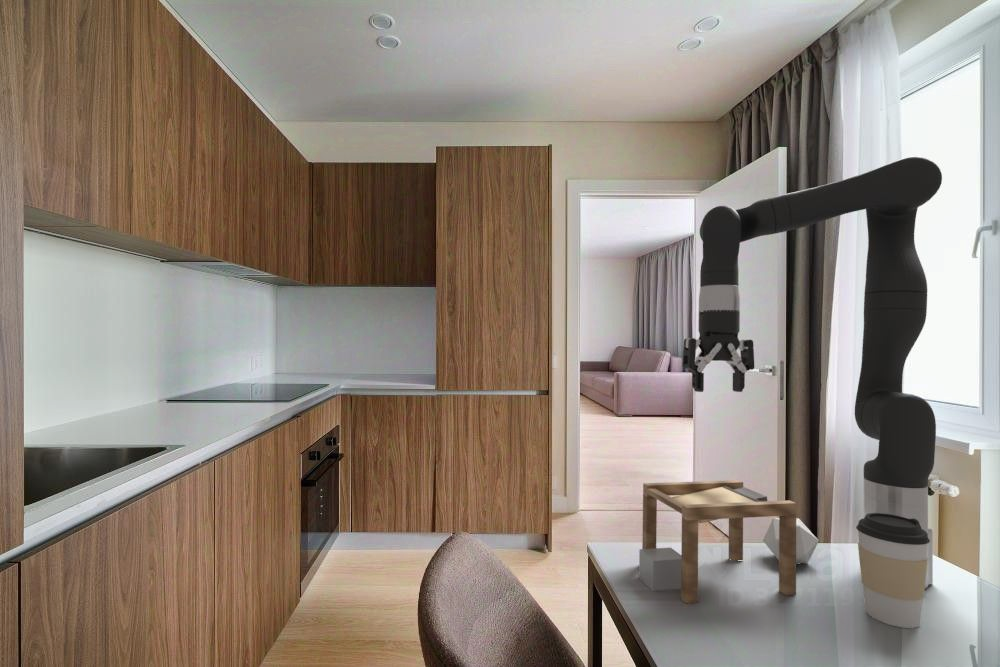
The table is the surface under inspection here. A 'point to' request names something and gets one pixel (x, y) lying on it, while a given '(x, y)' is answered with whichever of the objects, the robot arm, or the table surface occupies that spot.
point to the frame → (719, 511)
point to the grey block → (660, 568)
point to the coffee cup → (893, 568)
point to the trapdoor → (720, 497)
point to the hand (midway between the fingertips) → (718, 391)
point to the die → (803, 540)
